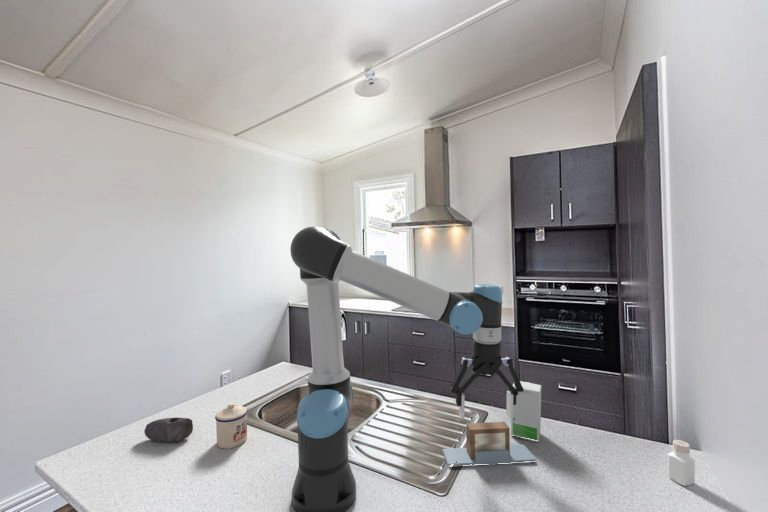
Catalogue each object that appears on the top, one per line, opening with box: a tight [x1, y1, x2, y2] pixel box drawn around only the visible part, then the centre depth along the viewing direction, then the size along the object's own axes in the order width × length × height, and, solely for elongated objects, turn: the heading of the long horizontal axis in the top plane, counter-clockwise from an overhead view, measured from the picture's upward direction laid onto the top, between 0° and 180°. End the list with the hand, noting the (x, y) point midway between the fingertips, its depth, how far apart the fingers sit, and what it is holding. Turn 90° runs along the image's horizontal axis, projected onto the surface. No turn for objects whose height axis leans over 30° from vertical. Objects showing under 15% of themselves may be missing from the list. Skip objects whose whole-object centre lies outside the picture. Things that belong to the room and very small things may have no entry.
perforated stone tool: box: [144, 417, 194, 443], centre depth 110 cm, size 15×5×7 cm, turn 83°
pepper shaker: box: [667, 439, 696, 487], centre depth 87 cm, size 4×4×10 cm
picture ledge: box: [442, 444, 537, 467], centre depth 98 cm, size 24×7×6 cm, turn 93°
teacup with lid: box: [214, 402, 248, 449], centre depth 110 cm, size 12×9×12 cm
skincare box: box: [510, 380, 542, 441], centre depth 109 cm, size 8×7×16 cm
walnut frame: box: [465, 421, 511, 459], centre depth 98 cm, size 11×4×8 cm, turn 93°
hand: (485, 416), depth 98 cm, fingers open, 13 cm apart
